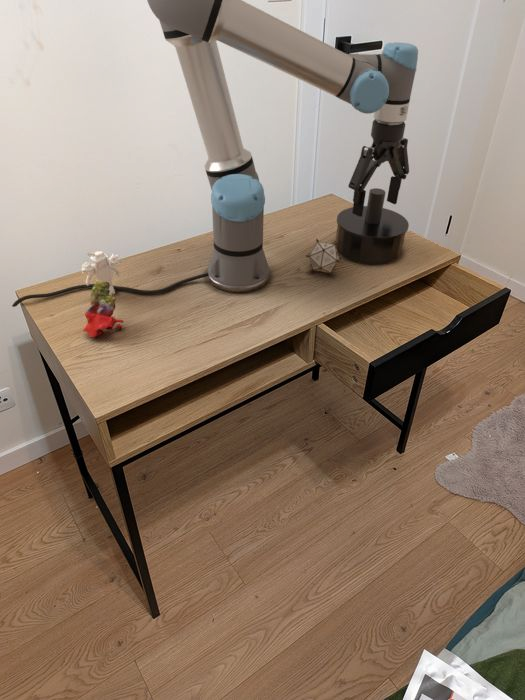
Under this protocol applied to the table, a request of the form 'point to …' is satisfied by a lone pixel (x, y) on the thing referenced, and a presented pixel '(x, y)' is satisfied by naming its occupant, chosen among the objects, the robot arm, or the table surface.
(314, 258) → the game die
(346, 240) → the pan
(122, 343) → the table surface
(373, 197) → the pan lid
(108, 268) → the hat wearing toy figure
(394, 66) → the robot arm
